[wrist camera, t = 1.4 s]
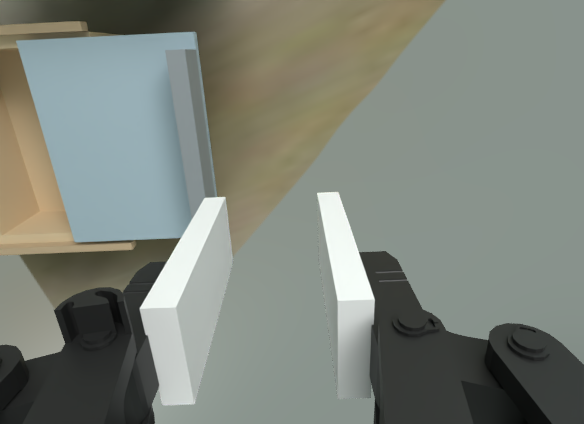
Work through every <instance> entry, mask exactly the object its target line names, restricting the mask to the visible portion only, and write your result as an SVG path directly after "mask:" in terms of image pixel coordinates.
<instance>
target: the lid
mask: <svg viewBox="0 0 584 424" xmlns="http://www.w3.org/2000/svg"><path fill="white" fill-rule="evenodd" d="M16 43H17V46H18V50H19V53H20V56H21V60H22V63H23V67H24V70H25V74H26V77H27V80H28V84H29V87H30V91H31V94H32V97H33V101H34V104H35V108H36V111H37V115H38V118H39V121H40V125H41V128H42V132H43V135H44V139H45V142H46V145H47V149H48V152H49V156H50V159H51V163H52V166H53V169H54V173H55V176H56V180H57V183H58V187H59V190H60V193H61V197H62V200H63V204H64V207H65V211H66V214H67V217H68V221H69V224H70V228H71V231H72V235H73V238H74V241H75V242H97V241H120V240H143V239H167V238H181V237H182V236H183V234H184V232H185V231H186V229H187V227H188V225H189V224H190V222H191V220H192V219H193V217H194V215H195V214H196V212H197V210H198V208H199V207H200V205H201V203H202V202H203V200H204V198H213V197H217V191H216V183H215V176H214V168H213V160H212V152H211V144H210V136H209V128H208V121H207V113H206V105H205V97H204V89H203V81H202V74H201V66H200V58H199V50H198V42H197V34H196V32H178V33H158V34H138V35H118V36H98V37H78V38H58V39H38V40H19V41H16Z"/></svg>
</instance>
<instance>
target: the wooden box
mask: <svg viewBox="0 0 584 424" xmlns="http://www.w3.org/2000/svg"><path fill="white" fill-rule="evenodd" d="M98 36H118V34H108V33H98V32H89V31H88V26H87V22H84V21H69V22H49V23H30V24H10V25H0V255H21V254H44V253H68V252H91V251H115V250H133V249H134V247H135V246H136V240H120V241H97V242H75V241H74V238H73V235H72V231H71V228H70V224H69V221H68V217H67V214H66V211H65V207H64V204H63V200H62V197H61V193H60V190H59V187H58V183H57V180H56V176H55V173H54V169H53V166H52V163H51V159H50V156H49V152H48V149H47V145H46V142H45V139H44V135H43V132H42V128H41V125H40V121H39V118H38V115H37V111H36V108H35V104H34V101H33V97H32V94H31V91H30V87H29V84H28V80H27V77H26V74H25V70H24V67H23V63H22V60H21V56H20V53H19V50H18V46H17V43H16V41H19V40H38V39H58V38H78V37H98Z"/></svg>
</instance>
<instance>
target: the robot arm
mask: <svg viewBox="0 0 584 424" xmlns="http://www.w3.org/2000/svg"><path fill="white" fill-rule="evenodd" d="M317 203H318V204H317V207H318V252H319V265H320V273H321V280H322V287H323V295H324V302H325V309H326V317H327V324H328V331H329V338H330V346H331V353H332V361H333V368H334V375H335V382H336V390H337V397H338V399H353V398H370V397H371V384H372V388H373V392H374V396H375V411H374V424H584V365H583V364H582V363H581V362H580V361H579V360H578V359H577V358H576V357H575V356H574V355H573V354H572V353H571V352H570V351H569V350H568V349H567V348H566V347H565V346H564V345H563V344H562V343H560V342H559V341H558V340H556V339H555V338H554V337H552V336H551V335H550V334H548V333H546V332H543V331H541V330H539V329H536V328H534V327H530V326H526V325H523V324H509V323H507V324H503V325H499V326H496V327H495V328H493V329H492V330H491V331H490V334H489V340H483V339H478V338H471V337H466V336H462V335H458V334H454V333H451V332H448V331H446V329H445V327H444V326H443V324H442V322H441V321H440V320H439V319H438V318H437V317H436V316H434V315H433V314H432V313H429V312H427V311H425V310H423V309H422V307H421V305H420V303H419V301H418V300H417V298H416V296H415V294H414V292H413V290H412V288H411V286H410V284H409V282H408V281H407V278H406V276H405V274H404V272H402V269H401V266H400V264H399V262H398V261H397V259H395V258H394V257H392V256H391V255H390V254H389V253H387V252H386V251H382V252H358V249H357V246H356V243H355V240H354V237H353V234H352V231H351V228H350V225H349V223H348V220H347V217H346V214H345V211H344V208H343V205H342V202H341V199H340V196H339V193H338V192H326V193H317ZM232 265H233V256H232V248H231V239H230V231H229V222H228V214H227V206H226V197H213V198H204V200H203V202H202V203H201V205H200V207H199V208H198V210H197V212H196V214H195V215H194V217H193V219H192V220H191V222H190V224H189V225H188V227H187V229H186V231H185V232H184V234H183V236H182V237H181V239H180V241H179V242H178V244H177V246H176V248H175V249H174V251H173V253H172V254H171V256H170V258H169V259H168V261H167V262H150V263H149V264H147V265H146V266H145V267H143V268H142V269H140V270H139V271H137V272H136V274H135V275H134V277H133V278H132V280H131V281H130V284H129V285H127V287H126V288H125V290H124V291H123V293H122V292H121V291H120V290H118V289H114V288H111V287H108V288H95V289H91V290H86V291H83V292H81V293H78V294H76V295H73V296H72V297H70V298H68V299H67V300H65V301H64V302H62V303H61V304H60V305H59V306H58V307H57V308H56V309H55V310H54V312H55V314H56V317H57V321H58V323H59V326H60V329H61V332H62V335H63V338H64V341H65V345H64V347H63V349H62V351H61V352H58V353H55V354H50V355H46V356H43V357H39V358H34V359H30V360H27V361H24V358H23V356H22V353H21V351H20V350H19V349H18V348H17V347H16V346H11V345H0V424H154V423H155V421H154V412H153V408H152V402H153V400H154V397H155V395H156V392H157V390H158V389H159V393H160V398H161V402H162V405H188V404H189V405H190V404H195V401H196V398H197V394H198V390H199V387H200V383H201V379H202V376H203V372H204V368H205V365H206V361H207V357H208V354H209V350H210V346H211V343H212V339H213V335H214V332H215V328H216V324H217V320H218V317H219V313H220V309H221V306H222V302H223V298H224V295H225V291H226V287H227V284H228V280H229V276H230V272H231V269H232Z"/></svg>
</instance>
